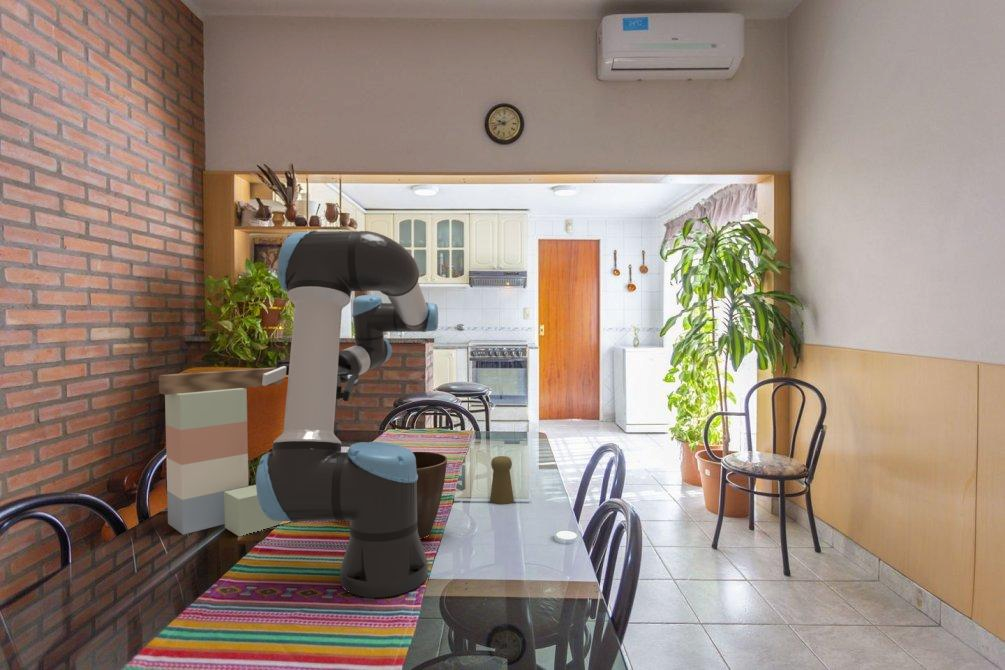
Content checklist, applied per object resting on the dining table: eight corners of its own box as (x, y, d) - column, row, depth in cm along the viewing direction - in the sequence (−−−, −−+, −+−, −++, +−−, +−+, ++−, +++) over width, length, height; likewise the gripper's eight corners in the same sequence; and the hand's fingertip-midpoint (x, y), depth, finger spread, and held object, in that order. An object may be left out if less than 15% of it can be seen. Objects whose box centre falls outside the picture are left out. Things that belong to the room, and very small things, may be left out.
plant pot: (435, 551, 111) (434, 470, 110) (364, 546, 114) (363, 467, 113) (456, 524, 125) (455, 452, 125) (393, 520, 128) (392, 450, 128)
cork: (514, 496, 145) (514, 454, 145) (512, 504, 139) (512, 460, 139) (491, 496, 145) (490, 453, 145) (488, 503, 139) (487, 459, 139)
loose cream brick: (277, 513, 133) (277, 480, 133) (293, 521, 128) (293, 486, 128) (224, 527, 125) (224, 491, 125) (239, 536, 119) (238, 499, 119)
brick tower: (231, 508, 138) (229, 385, 137) (249, 517, 131) (246, 388, 130) (167, 523, 128) (164, 391, 127) (182, 534, 121) (179, 395, 120)
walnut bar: (275, 383, 142) (275, 367, 142) (282, 384, 140) (282, 368, 140) (159, 393, 123) (158, 375, 123) (165, 394, 121) (164, 376, 121)
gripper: (387, 395, 140) (332, 427, 120) (306, 360, 147) (242, 385, 128) (392, 368, 137) (337, 396, 118) (309, 334, 144) (245, 355, 125)
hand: (288, 391), depth 123 cm, fingers open, 13 cm apart
